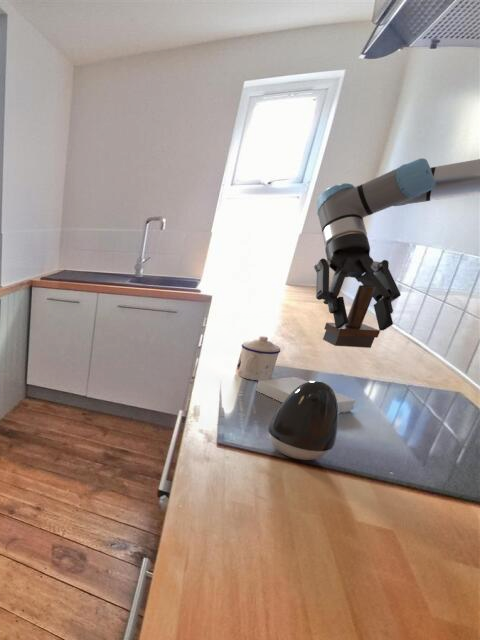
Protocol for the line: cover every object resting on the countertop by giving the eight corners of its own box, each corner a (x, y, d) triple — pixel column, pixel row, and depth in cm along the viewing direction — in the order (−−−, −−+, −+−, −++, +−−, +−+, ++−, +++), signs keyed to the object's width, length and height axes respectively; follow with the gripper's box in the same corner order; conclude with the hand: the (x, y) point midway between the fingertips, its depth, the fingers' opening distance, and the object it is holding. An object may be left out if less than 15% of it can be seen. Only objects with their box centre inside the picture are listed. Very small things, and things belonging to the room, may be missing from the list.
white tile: (351, 411, 98) (355, 400, 96) (310, 416, 95) (314, 405, 94) (292, 387, 111) (295, 376, 110) (255, 391, 109) (258, 380, 107)
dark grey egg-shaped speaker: (257, 453, 81) (280, 382, 75) (269, 434, 88) (290, 367, 82) (322, 474, 74) (353, 399, 68) (330, 452, 81) (358, 381, 75)
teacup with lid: (241, 367, 124) (251, 330, 120) (276, 376, 118) (288, 337, 113) (224, 377, 117) (235, 338, 113) (261, 387, 111) (273, 346, 106)
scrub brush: (357, 341, 97) (379, 284, 92) (373, 348, 92) (397, 289, 87) (320, 339, 98) (339, 283, 93) (334, 346, 93) (355, 287, 88)
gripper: (383, 254, 99) (405, 337, 91) (288, 252, 103) (300, 331, 95) (409, 231, 93) (435, 319, 84) (306, 230, 97) (321, 314, 88)
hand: (363, 326), depth 90 cm, fingers closed on scrub brush, 8 cm apart
